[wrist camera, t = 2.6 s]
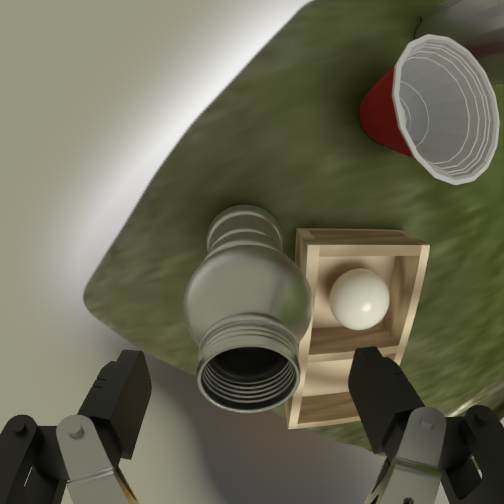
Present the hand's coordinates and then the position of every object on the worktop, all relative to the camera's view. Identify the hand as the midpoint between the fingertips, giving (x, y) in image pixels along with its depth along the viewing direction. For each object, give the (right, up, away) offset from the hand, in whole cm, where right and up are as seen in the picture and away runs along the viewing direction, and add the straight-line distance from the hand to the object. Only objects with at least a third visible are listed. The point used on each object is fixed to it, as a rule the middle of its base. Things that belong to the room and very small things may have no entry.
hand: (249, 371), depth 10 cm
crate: (+10, -4, +22) cm, 25 cm away
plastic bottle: (-1, +6, +18) cm, 20 cm away
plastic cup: (+13, +18, +15) cm, 27 cm away
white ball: (+10, +1, +20) cm, 22 cm away
